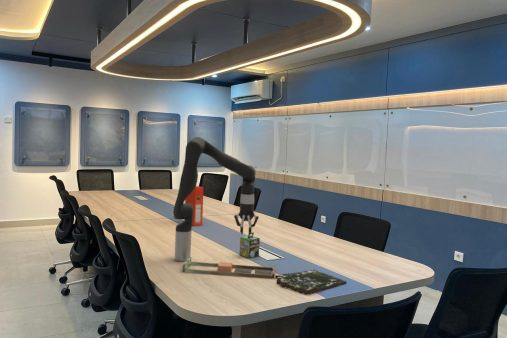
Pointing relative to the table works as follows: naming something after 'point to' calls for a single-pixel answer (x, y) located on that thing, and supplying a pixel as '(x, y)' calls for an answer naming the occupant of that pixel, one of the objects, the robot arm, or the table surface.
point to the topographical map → (308, 281)
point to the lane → (239, 271)
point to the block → (225, 266)
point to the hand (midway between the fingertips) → (245, 233)
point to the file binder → (196, 205)
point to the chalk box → (249, 246)
